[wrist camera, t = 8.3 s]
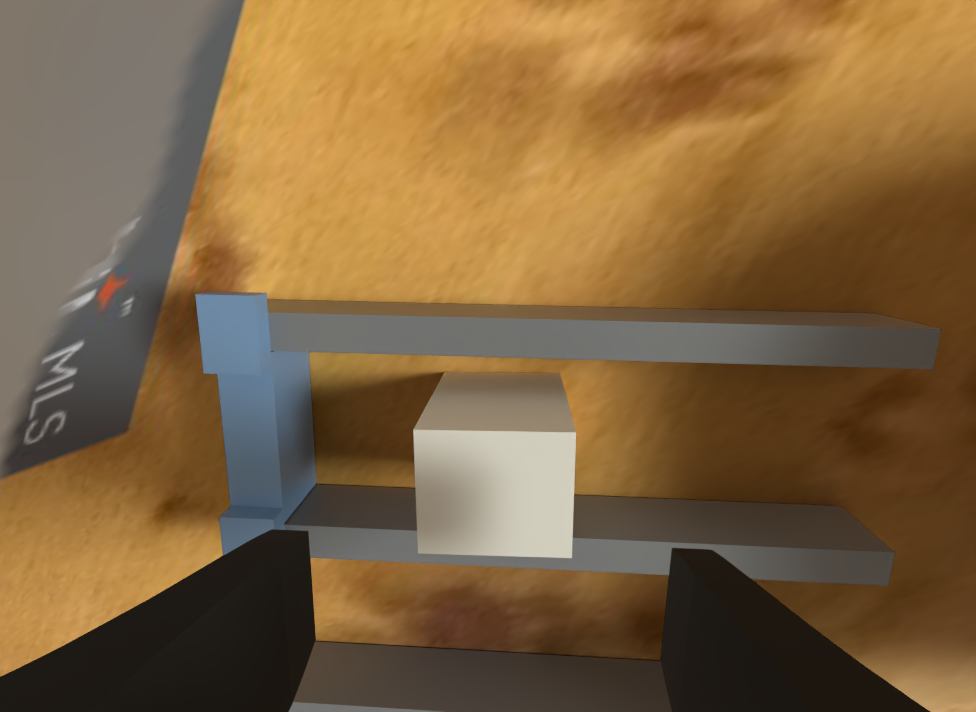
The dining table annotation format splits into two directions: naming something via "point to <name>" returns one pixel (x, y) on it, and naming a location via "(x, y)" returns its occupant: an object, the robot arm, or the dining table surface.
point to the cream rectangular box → (496, 466)
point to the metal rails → (596, 519)
